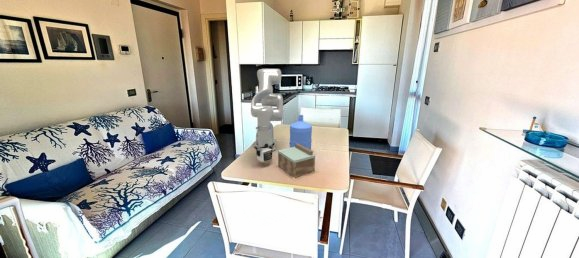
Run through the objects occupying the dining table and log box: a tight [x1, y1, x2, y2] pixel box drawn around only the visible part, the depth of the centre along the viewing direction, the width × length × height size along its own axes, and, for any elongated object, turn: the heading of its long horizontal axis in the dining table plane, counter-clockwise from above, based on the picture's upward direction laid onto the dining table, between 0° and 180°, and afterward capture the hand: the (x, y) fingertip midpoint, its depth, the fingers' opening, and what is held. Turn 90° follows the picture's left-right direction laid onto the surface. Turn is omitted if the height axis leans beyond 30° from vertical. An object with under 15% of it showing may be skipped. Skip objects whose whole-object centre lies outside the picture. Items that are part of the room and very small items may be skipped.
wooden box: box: [277, 152, 316, 179], centre depth 146 cm, size 18×15×9 cm
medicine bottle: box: [256, 144, 273, 163], centre depth 151 cm, size 7×7×12 cm
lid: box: [277, 143, 316, 163], centre depth 145 cm, size 18×15×4 cm
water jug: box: [289, 114, 313, 150], centre depth 169 cm, size 16×16×28 cm
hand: (264, 154), depth 151 cm, fingers closed on medicine bottle, 8 cm apart
